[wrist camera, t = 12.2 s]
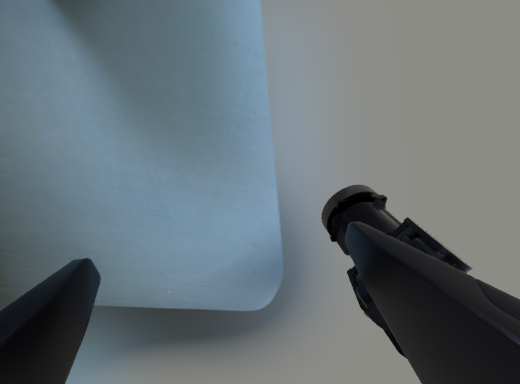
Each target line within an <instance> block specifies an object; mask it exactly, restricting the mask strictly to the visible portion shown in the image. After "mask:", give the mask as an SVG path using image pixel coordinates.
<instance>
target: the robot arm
mask: <svg viewBox="0 0 520 384" xmlns="http://www.w3.org/2000/svg"><path fill="white" fill-rule="evenodd" d="M386 201H387V197H386V196H384V195H377V196H369V197H360V198H352V199H343V200H339V201H338V202H337V203H336V208H335V213H334V217H333V220H332V225H331V231H330V233H331V235H330V239H331V241H332V242H337V243H338V244H339V246H340V247H341V249H342V250H343V252H344V253H345V254H346V255H350V257H351V258H352V260H353V262H354V264H355V266H354V267H353V268H352V269H349V270H348V271H347V274H348V276H349V279H350V282H351V284H352V287H353V290H354V292H355V295H356V297H357V300H358V302H359V305H360V307H361V309H362V310H363V311H364V313H365V315H366V316H367V317H369V318H370V319H371V320H372V321H374V323H376V324H377V325H378V326H379V327H381V328H382V329H383V330H384V331H385V333H386V334H387V336H388V337H389V339H390V340H391V342H392V343H393V345H394V346H395V348H396V349H397V351H398V352H399V353H400V354H401V355H403V356H404V357H405V358H407V359H408V361H409V363H410V364H411V366H412V368H413V370H414V371H415V373H416V375H417V376H418V378H419V380H420V381H421V383H422V384H520V299H518V298H516V297H513V296H511V295H509V294H507V293H505V292H503V291H501V290H499V289H497V288H495V287H493V286H491V285H488V284H486V283H484V282H482V281H481V280H478V279H475V278H474V277H472V276H470V275H468V274H466V273H467V272H468V271H470V270H471V269H472V268H471V267H470V266H469V265H468V264H466V263H465V262H464V261H463V260H462V259H461V258H459V257H458V256H457V255H456V254H455V253H453V252H452V251H451V250H450V249H449V248H448V247H446V246H445V245H444V244H443V243H441V242H440V241H439V240H437V239H436V238H435V237H434V236H432V235H431V234H430V233H428V232H427V231H426V230H424V229H423V228H422V227H420V226H419V225H418V224H416V223H415V222H414V221H412V220H411V219H410V218H408V217H407V218H406V219H405V220H404V222H403V223H400V222H399V221H398V220H397V219H396V218H395V217H394V216H392V215H391V214H390V213H389V212H388V211H387V210H385V209H384V207H385V204H386ZM341 203H342V204H341ZM340 204H341V205H340ZM100 280H101V277H100V274H99V272H98V270H97V269H96V267H95V265H94V264H93V262H92V260H91V259H89V258H83V259H76V260H73V261H71V262H70V263H68V264H67V265H66V266H64V267H63V268H61V269H60V270H58V271H57V272H56V273H54V274H53V275H51V276H50V277H48V278H47V279H46V280H44V281H43V282H41V283H40V284H38V285H37V286H36V287H34V288H33V289H31V290H30V291H28V292H27V293H26V294H24V295H23V296H21V297H20V298H18V299H17V300H15V301H14V302H13V303H11V304H10V305H8V306H7V307H6V308H4V309H3V310H1V311H0V384H65V382H66V380H67V378H68V375H69V372H70V370H71V367H72V365H73V363H74V360H75V358H76V355H77V352H78V350H79V347H80V345H81V342H82V340H83V337H84V334H85V332H86V329H87V326H88V323H89V319H90V316H91V313H92V309H93V306H94V302H95V299H96V295H97V292H98V288H99V285H100Z"/></svg>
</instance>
